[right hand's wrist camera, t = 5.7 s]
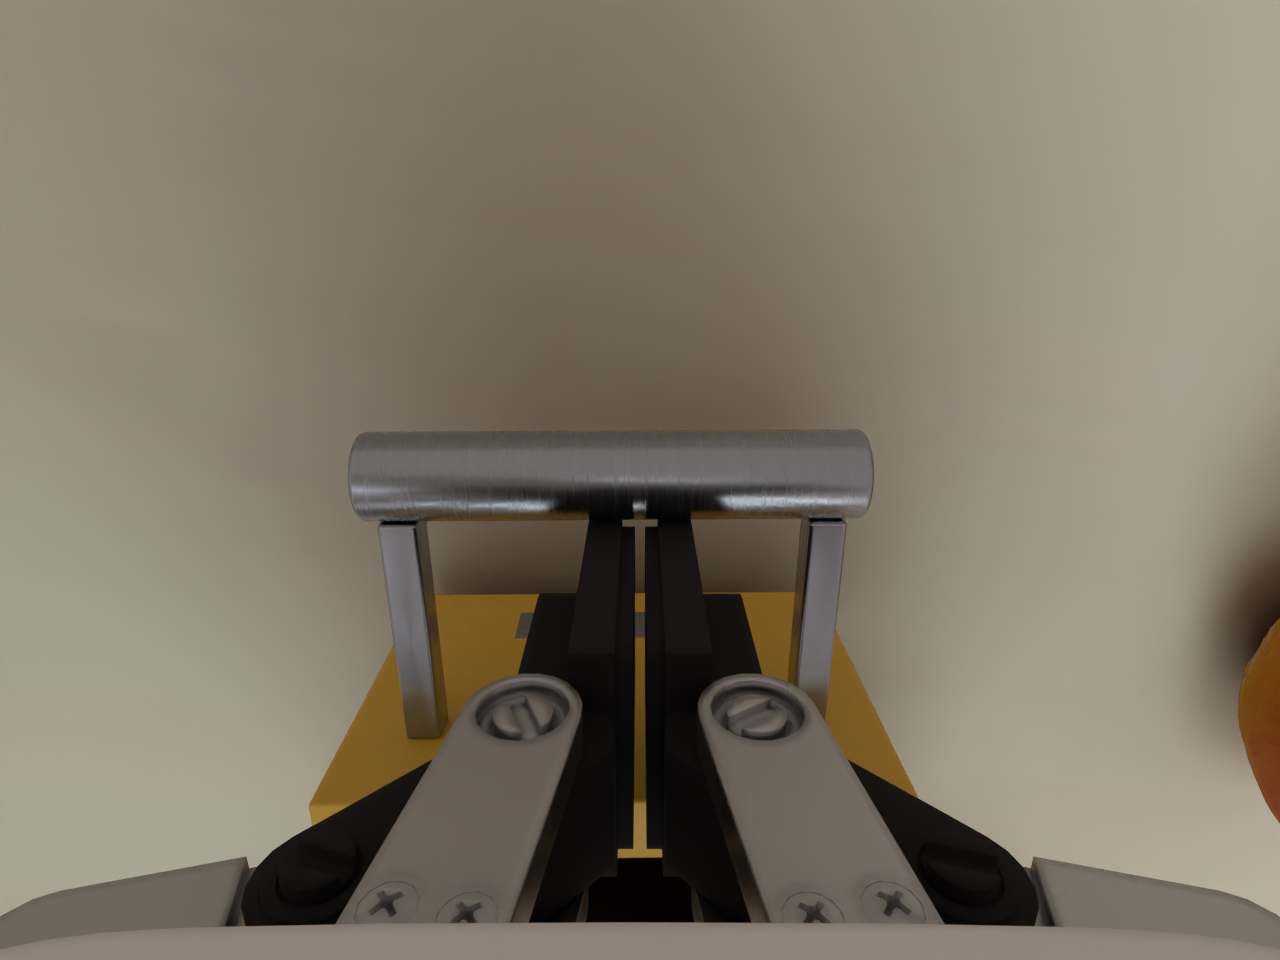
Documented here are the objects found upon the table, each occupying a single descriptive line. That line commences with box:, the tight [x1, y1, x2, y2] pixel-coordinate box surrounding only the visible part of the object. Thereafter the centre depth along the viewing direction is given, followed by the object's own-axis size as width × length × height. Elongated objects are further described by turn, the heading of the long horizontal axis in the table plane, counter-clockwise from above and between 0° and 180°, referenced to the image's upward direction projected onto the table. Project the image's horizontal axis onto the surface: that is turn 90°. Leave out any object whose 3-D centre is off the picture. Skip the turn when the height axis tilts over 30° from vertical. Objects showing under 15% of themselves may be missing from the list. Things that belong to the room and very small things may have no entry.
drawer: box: [309, 430, 918, 923], centre depth 15 cm, size 17×9×6 cm, turn 0°
